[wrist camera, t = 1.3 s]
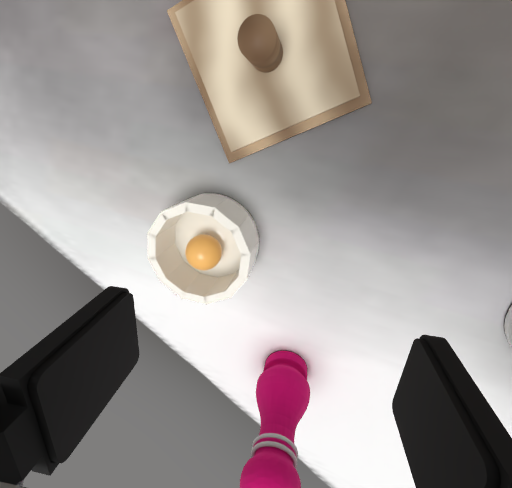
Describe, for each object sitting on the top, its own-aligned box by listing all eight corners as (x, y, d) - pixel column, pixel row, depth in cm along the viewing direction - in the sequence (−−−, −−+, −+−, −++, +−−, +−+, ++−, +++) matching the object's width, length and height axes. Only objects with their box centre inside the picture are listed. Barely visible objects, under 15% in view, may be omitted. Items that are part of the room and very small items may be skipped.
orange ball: (217, 225, 36) (205, 236, 32) (231, 256, 37) (221, 271, 33) (188, 235, 37) (172, 247, 33) (202, 265, 38) (189, 280, 34)
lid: (313, -70, 25) (312, -127, 19) (358, 97, 29) (368, 88, 23) (179, 16, 29) (147, -12, 24) (233, 151, 33) (216, 155, 27)
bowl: (237, 178, 34) (222, 187, 29) (272, 266, 38) (265, 289, 32) (156, 211, 38) (129, 224, 33) (195, 288, 41) (176, 312, 36)
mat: (321, -86, 25) (321, -91, 24) (370, 103, 29) (371, 103, 29) (169, 12, 30) (167, 10, 29) (230, 162, 34) (229, 163, 33)
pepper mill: (256, 375, 45) (214, 543, 26) (269, 340, 42) (232, 501, 24) (301, 392, 44) (289, 575, 26) (317, 357, 41) (318, 536, 23)
